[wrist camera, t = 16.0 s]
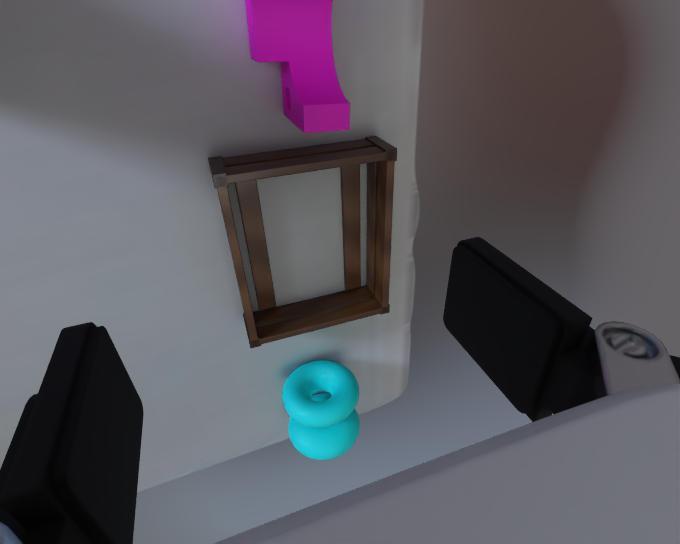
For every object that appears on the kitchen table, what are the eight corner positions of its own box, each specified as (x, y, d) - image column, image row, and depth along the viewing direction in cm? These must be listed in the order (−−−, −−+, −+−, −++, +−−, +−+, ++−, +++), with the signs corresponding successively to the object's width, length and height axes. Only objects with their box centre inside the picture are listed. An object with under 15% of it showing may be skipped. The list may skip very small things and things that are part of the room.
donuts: (283, 413, 59) (299, 475, 51) (274, 367, 53) (291, 428, 45) (345, 394, 61) (370, 449, 53) (343, 347, 56) (370, 402, 48)
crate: (208, 157, 36) (211, 174, 32) (375, 135, 41) (397, 148, 37) (244, 321, 48) (250, 348, 44) (373, 290, 52) (389, 312, 48)
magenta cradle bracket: (234, -107, 28) (250, -141, 22) (318, -99, 30) (354, -128, 24) (257, 116, 36) (272, 135, 30) (322, 112, 38) (349, 129, 32)
